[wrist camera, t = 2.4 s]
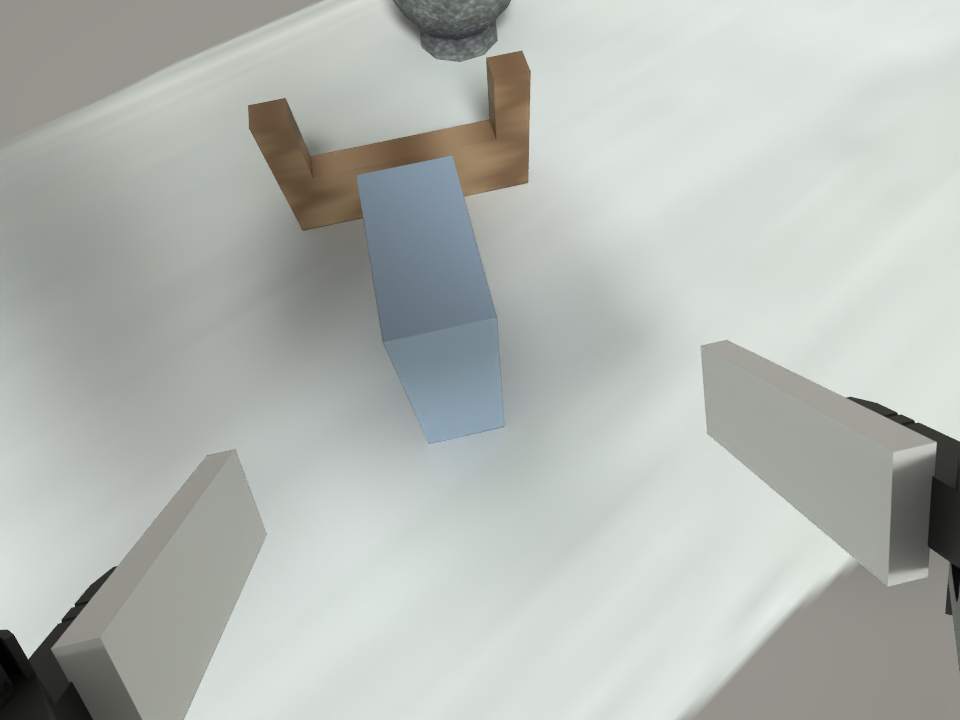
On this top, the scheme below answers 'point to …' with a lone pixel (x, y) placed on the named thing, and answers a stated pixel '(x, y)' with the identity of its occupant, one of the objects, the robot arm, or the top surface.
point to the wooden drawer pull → (400, 150)
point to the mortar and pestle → (455, 25)
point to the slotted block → (433, 297)
